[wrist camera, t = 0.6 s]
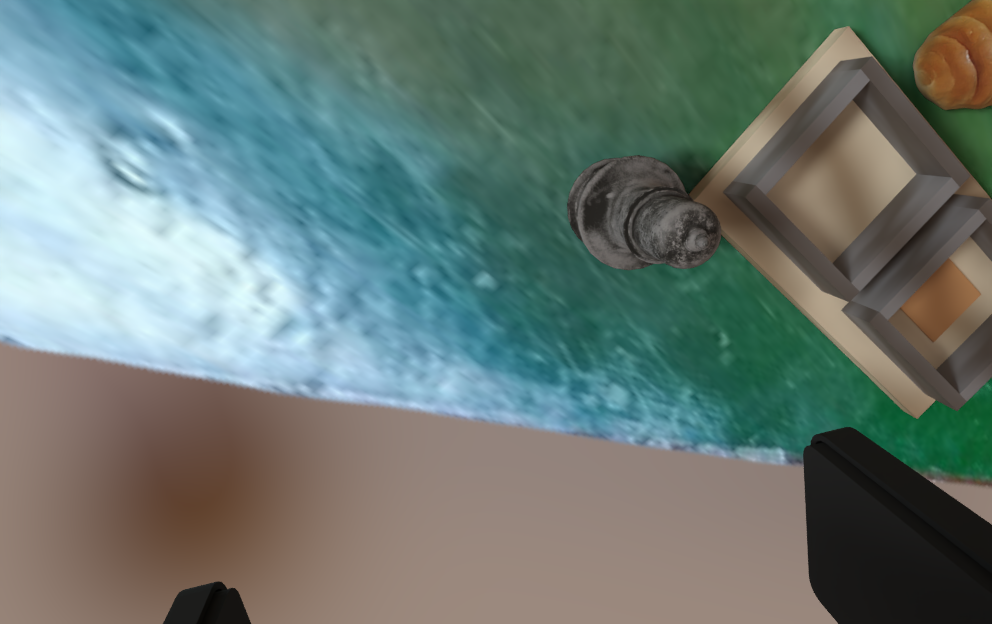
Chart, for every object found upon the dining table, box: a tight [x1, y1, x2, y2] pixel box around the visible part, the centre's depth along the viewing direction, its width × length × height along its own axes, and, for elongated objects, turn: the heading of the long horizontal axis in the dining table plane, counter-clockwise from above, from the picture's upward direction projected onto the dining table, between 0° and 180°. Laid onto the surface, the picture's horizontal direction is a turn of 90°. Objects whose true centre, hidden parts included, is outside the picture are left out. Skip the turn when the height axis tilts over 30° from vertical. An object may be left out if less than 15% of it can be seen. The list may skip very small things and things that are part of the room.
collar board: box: [689, 26, 992, 418], centre depth 37 cm, size 12×22×4 cm, turn 50°
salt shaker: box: [567, 155, 721, 270], centre depth 30 cm, size 6×6×12 cm
